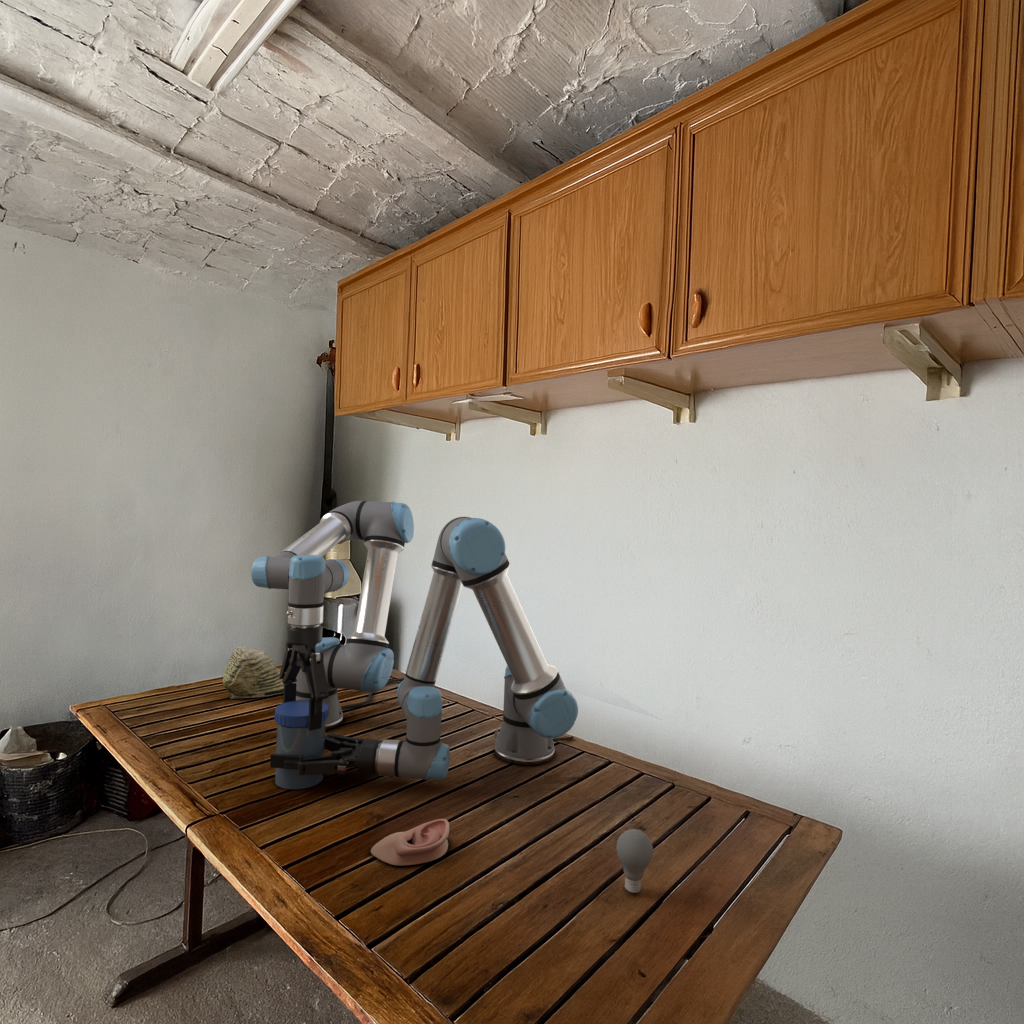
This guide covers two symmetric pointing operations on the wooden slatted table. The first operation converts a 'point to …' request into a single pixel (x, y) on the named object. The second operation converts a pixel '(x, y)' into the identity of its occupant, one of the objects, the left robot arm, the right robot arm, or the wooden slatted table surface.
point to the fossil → (251, 674)
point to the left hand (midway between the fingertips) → (301, 720)
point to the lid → (296, 713)
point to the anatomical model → (414, 844)
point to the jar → (298, 744)
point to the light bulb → (634, 857)
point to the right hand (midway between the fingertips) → (282, 750)
